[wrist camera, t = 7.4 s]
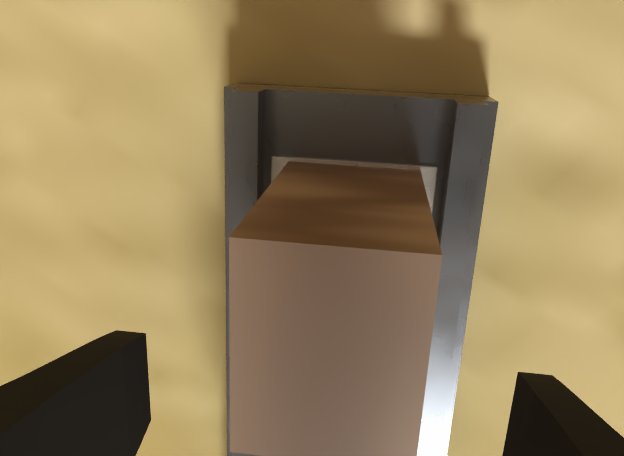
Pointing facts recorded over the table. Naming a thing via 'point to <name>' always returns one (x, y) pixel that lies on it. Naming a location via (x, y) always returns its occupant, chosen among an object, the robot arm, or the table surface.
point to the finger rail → (385, 154)
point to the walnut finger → (332, 313)
